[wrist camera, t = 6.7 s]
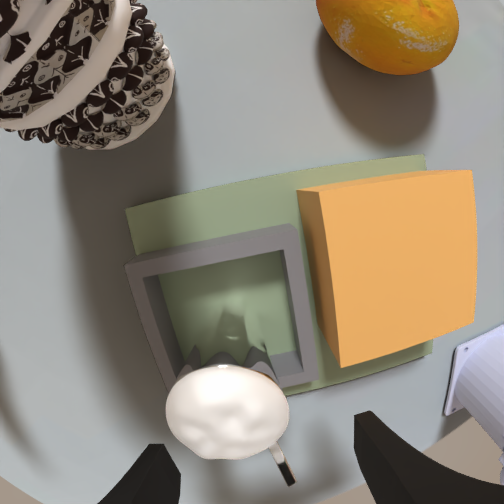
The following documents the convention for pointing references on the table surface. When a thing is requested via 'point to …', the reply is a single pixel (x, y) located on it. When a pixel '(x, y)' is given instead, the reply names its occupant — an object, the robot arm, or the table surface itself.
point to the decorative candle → (81, 71)
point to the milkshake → (230, 392)
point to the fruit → (392, 32)
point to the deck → (256, 267)
